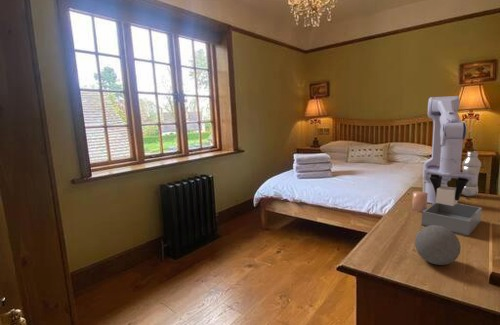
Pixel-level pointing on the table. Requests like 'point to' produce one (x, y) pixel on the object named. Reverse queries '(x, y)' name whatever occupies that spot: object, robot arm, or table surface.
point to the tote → (452, 217)
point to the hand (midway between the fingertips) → (447, 198)
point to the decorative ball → (437, 245)
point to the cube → (446, 195)
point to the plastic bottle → (473, 167)
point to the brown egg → (419, 201)
